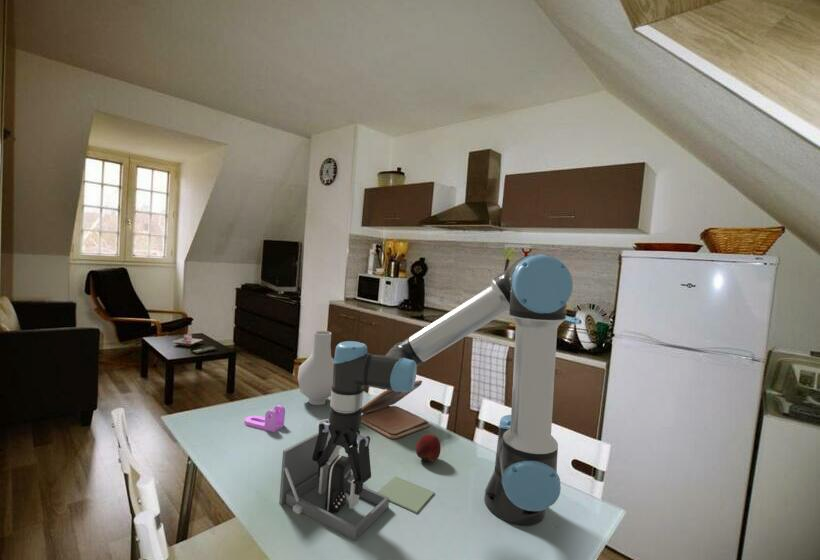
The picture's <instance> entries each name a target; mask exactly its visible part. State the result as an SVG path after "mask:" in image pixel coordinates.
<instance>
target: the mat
mask: <svg viewBox="0 0 820 560" xmlns="http://www.w3.org/2000/svg"><path fill="white" fill-rule="evenodd" d="M377 492H378V493H380V494H382V495H384V496H387V497H389V503H392V504H394V505H397V506H399V507H401V508H403V509H406V510H408V511H410V512H412V513H414V514H418V513H419V512H420V511H421V509H422V508H423V507H424V506H425V505H426V504H427V503H428V501H430V500H431V498H432V497H433V495H434V494H435V491H433V490H430V489H428V488H426V487H423V486H420V485H419V484H416V483H414V482H411V481H409V480H406V479H403V478H401V477H399V476H398V475H397V476H396V475H395V476H394V477H393V478H392V479H390V480H389V481H388V482H387V483H386V484H384V485H383V486H382V487H381V488H380V489H379V490H378V491H377Z"/></svg>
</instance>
